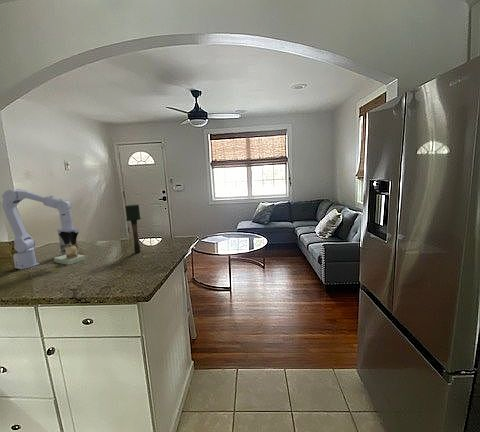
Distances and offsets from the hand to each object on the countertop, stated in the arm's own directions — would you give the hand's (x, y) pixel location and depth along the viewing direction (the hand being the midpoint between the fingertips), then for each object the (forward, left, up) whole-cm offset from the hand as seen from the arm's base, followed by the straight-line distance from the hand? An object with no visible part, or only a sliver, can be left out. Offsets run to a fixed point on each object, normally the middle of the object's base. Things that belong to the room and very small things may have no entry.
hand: (70, 244), depth 163 cm
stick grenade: (+27, -24, -11) cm, 38 cm away
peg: (0, 0, -10) cm, 10 cm away
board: (0, +3, -10) cm, 11 cm away
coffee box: (+9, +18, -11) cm, 23 cm away
